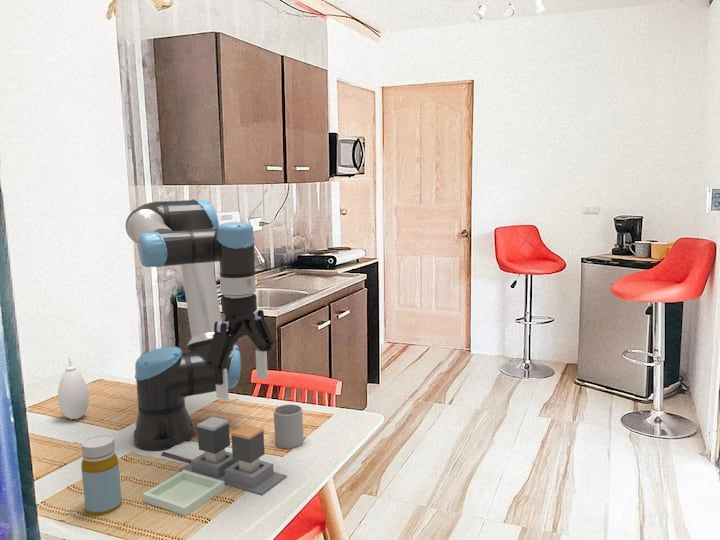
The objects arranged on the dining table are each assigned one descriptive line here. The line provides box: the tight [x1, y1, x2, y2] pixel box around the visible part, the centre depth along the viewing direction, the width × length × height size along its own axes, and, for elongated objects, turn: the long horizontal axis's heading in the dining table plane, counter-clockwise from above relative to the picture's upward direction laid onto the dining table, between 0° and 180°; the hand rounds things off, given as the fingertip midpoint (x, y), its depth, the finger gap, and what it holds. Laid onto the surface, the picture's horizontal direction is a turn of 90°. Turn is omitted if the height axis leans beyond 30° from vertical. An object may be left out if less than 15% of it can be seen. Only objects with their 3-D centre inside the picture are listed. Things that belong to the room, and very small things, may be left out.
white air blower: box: [57, 358, 90, 420], centre depth 177 cm, size 8×8×18 cm
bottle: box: [81, 434, 123, 516], centre depth 129 cm, size 7×7×15 cm
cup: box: [273, 404, 304, 450], centre depth 160 cm, size 7×10×9 cm
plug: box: [230, 424, 266, 474], centre depth 140 cm, size 5×5×11 cm
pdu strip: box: [161, 416, 288, 496], centre depth 144 cm, size 34×9×12 cm, turn 61°
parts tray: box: [142, 470, 226, 517], centre depth 134 cm, size 12×12×2 cm
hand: (243, 387), depth 139 cm, fingers open, 13 cm apart
